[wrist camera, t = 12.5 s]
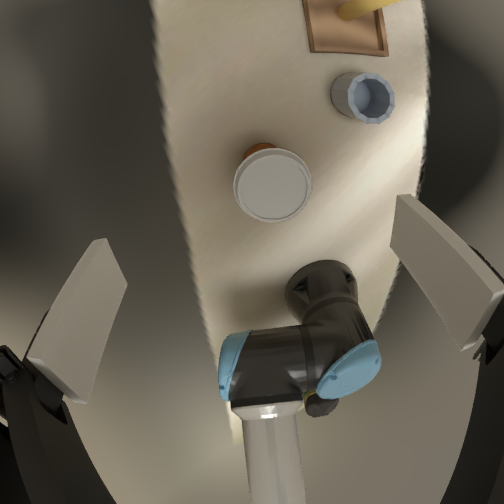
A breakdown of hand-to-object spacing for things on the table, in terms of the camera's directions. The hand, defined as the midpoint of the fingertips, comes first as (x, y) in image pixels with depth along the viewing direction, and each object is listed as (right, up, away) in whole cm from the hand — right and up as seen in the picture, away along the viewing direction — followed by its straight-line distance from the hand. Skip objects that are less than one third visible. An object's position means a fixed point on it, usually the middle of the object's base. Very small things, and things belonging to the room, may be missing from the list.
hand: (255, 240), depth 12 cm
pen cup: (+15, +24, +24) cm, 37 cm away
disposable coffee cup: (+2, +13, +30) cm, 33 cm away
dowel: (+14, +35, +15) cm, 40 cm away
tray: (+13, +35, +16) cm, 41 cm away
